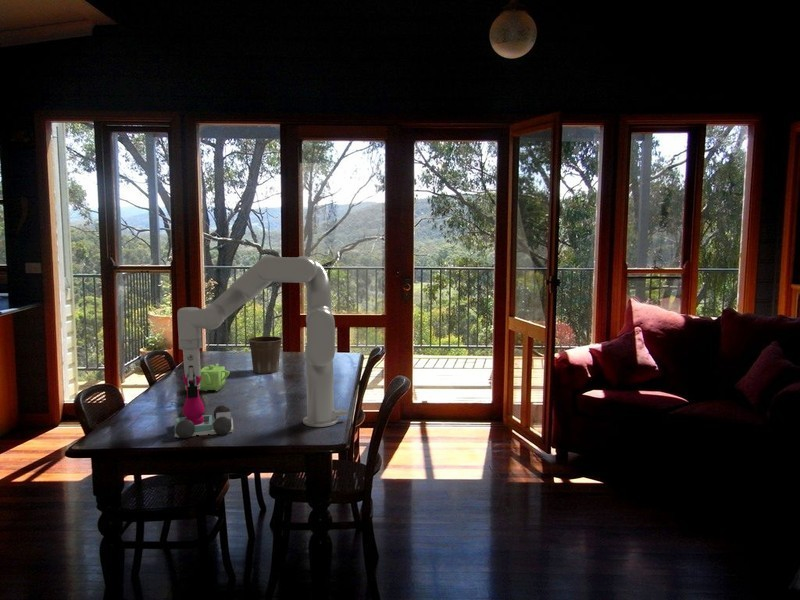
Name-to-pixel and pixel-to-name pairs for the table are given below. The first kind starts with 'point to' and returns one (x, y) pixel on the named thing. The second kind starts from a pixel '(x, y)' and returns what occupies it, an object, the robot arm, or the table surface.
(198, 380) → the pepper mill
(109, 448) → the table surface
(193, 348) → the robot arm
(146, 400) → the table surface
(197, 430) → the chassis
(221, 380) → the teapot
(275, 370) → the plant pot
